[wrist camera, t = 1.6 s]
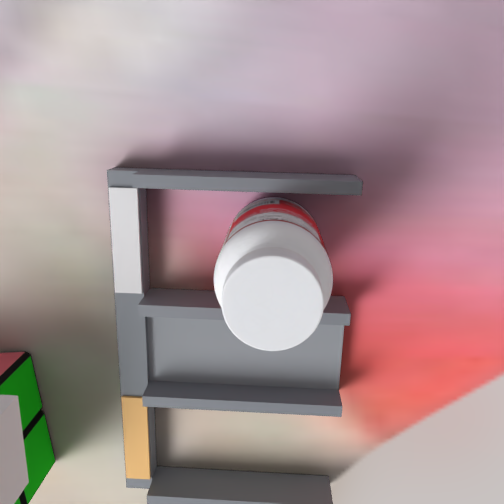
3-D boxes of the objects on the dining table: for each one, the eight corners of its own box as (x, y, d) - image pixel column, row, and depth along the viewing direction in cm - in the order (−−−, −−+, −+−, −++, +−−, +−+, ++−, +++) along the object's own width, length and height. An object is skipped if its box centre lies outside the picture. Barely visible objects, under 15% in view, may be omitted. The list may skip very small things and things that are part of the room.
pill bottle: (288, 299, 33) (294, 388, 23) (211, 256, 33) (180, 326, 22) (337, 224, 32) (368, 283, 21) (257, 177, 31) (247, 212, 20)
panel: (114, 167, 31) (98, 173, 28) (354, 174, 31) (362, 181, 28) (132, 473, 38) (120, 502, 35) (328, 484, 37) (332, 515, 35)
